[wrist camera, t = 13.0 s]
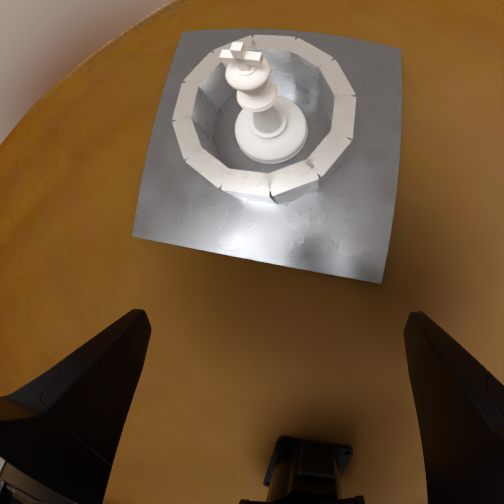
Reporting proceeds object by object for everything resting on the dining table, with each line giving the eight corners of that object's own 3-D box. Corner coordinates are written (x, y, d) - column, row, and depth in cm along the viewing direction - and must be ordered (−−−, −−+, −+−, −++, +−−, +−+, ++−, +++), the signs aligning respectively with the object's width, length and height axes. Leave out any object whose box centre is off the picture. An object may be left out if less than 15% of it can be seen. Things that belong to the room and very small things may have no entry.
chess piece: (245, 94, 19) (199, 5, 10) (314, 105, 19) (312, 10, 9) (227, 156, 20) (160, 94, 10) (299, 171, 19) (286, 109, 9)
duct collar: (378, 281, 19) (398, 295, 14) (139, 236, 23) (99, 236, 18) (398, 55, 18) (413, 20, 13) (186, 37, 21) (163, 6, 16)
